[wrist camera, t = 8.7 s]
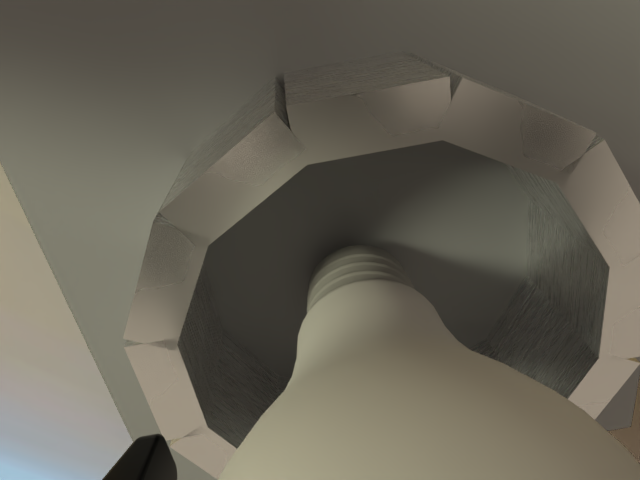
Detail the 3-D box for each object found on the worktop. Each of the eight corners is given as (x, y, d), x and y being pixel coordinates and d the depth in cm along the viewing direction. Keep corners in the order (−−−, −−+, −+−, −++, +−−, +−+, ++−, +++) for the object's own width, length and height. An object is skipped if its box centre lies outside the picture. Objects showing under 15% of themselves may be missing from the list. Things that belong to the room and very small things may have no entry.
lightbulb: (282, 126, 11) (260, 962, 2) (510, 208, 13) (1236, 944, 3) (210, 330, 14) (36, 1144, 4) (407, 381, 15) (621, 1090, 6)
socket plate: (-39, -12, 11) (-82, -11, 10) (676, -143, 11) (730, -161, 10) (173, 471, 18) (165, 509, 17) (604, 394, 18) (630, 426, 17)
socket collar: (106, 104, 11) (38, 150, 8) (579, 18, 11) (700, 31, 8) (224, 438, 16) (211, 549, 13) (554, 380, 16) (623, 477, 13)
